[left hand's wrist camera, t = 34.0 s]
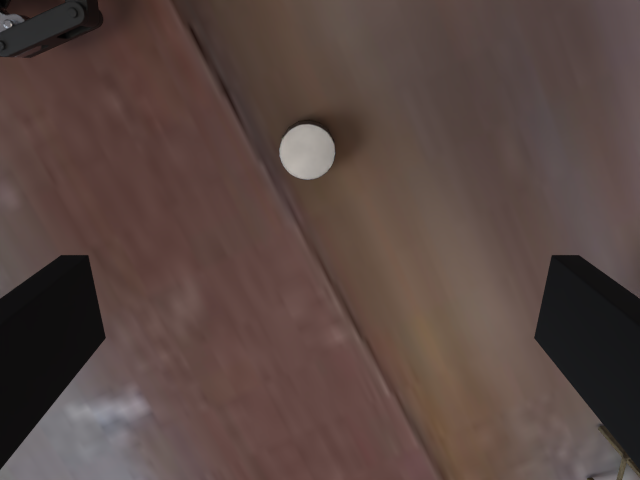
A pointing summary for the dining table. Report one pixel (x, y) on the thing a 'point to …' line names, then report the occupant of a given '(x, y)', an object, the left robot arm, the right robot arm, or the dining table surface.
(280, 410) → the dining table surface
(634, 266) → the dining table surface
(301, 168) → the cap
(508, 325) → the dining table surface
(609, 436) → the miniature windmill
